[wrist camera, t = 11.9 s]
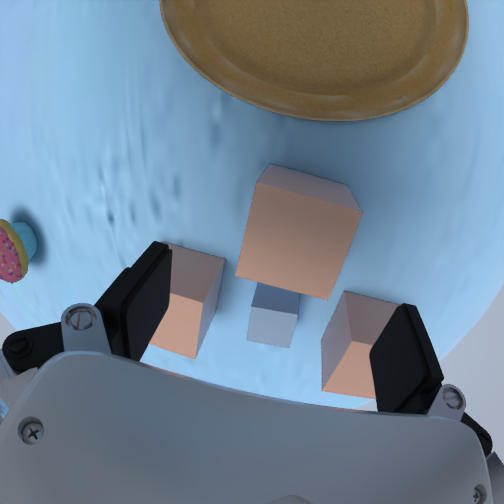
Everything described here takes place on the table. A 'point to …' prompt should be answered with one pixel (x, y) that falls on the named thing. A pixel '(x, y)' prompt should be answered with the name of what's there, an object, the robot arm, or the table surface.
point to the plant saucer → (322, 51)
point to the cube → (273, 315)
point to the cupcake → (15, 250)
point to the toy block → (298, 232)
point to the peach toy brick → (189, 301)
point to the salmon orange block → (353, 344)
